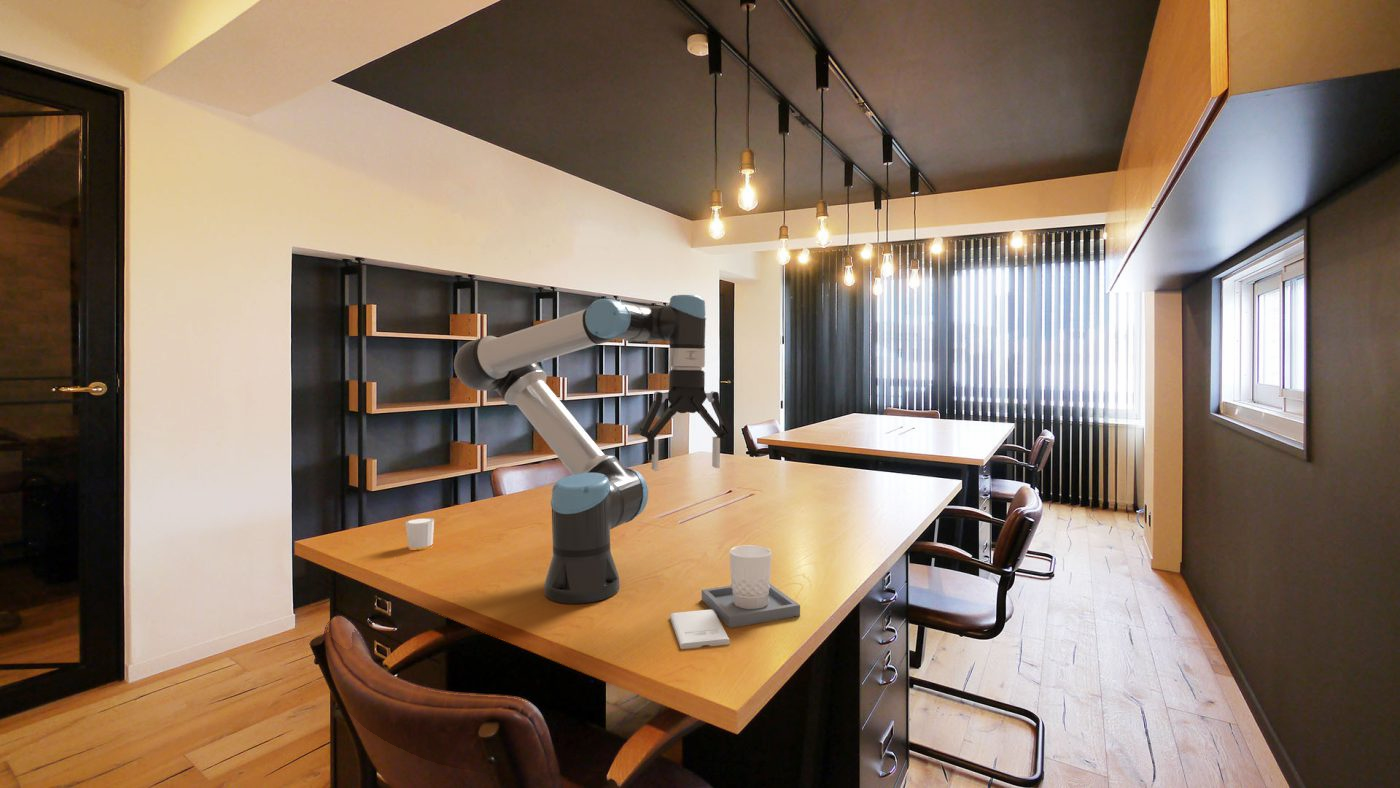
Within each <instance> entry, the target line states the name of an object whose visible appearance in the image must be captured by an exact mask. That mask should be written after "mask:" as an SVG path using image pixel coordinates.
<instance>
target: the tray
mask: <svg viewBox="0 0 1400 788" xmlns="http://www.w3.org/2000/svg"><path fill="white" fill-rule="evenodd" d="M732 591H733V590H732V585H725V586H719V587H713V588H712V587H711V588H704V589H701V601H702V602H704V603H705V605H706V606H707V607H708V608H709V610H710V609H711V610H714V612H715V613H716V615H717V617H718V619H719V620H721V621H722V622H723V623H724V624H725V625H726V626H727V627H728V628H729V629H732V628H737V627H743V626H748V625H754V624H755V625H756V624H760V623H768V622H771V621H778V620H779V621H780V620H785V619H790V618H795V617H794V616H796V617H800V616H801V605H800V604H799V603H798V602H796V601H795V600H793V599H792V598H791V597H789V596H788V595H787V594H785V593H784V592H782V591H781V590H779V588H777V587H775V585H772V583H770V589H769V601H768V605H767V606H765V607H764V608H760V609H743V608H740V607H737V606H735V604H734V603H733V593H732Z"/></svg>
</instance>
